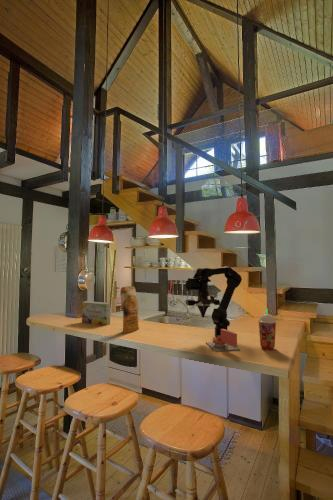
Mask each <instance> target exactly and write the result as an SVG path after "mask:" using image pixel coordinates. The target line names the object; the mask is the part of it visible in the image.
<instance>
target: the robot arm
mask: <svg viewBox="0 0 333 500" xmlns="http://www.w3.org/2000/svg"><path fill="white" fill-rule="evenodd" d="M221 274H224V277H225V278H226V285H227V286H226V288H225V291H224V292H223V293H224V294H223V296H222V298H221V301H220V300H219V299H217V298H215V296H214V295H213V294H212V295H209V294H210V293H209V283H211V282H212V280H211V279H210V278H211V277H212V276H215V275H221ZM242 280H243V279H242V276H241V274H240V273H238V272H237V271H235V270H234V269H233V268H232V267H231V266H220V267H212V268H210V267H209V268H208V267H207V268H206V267H198V268H197V269H196V272H195V273H194V275H193V277H192V278H190V277H189V278H187V281H186V282H185V286H184V287H185V289H186V290H187V291H188V292H190V291H191V292H192V291H197V292H196V294H197V298H196V299H197V300H195V299H193V298H191V299H190V298H189V299H185V305H186V306H188V307H189V306H190V307H191V306H196V307H197V308H198V311H199V313H200V317H201V318H204V317H205V315H206V312H207V310H208V309H209V308H210V307H211V305H212V304H213V305H214V306H218V307H216V308H213V311H212V313H211V320H212V323H213V325H215V327H214V335H215V336H216V337H217V336H218V335H221V329H225V330H228V327H230V324H231V322H230V321H229V319H228V311H227V310H228V308H229V305H230V302H231V300H232V298H233V296H234V293H235V291H236V288H238V287H239V286H240V284H241V283H242Z"/></svg>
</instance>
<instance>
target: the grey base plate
mask: <svg viewBox="0 0 333 500" xmlns="http://www.w3.org/2000/svg"><path fill="white" fill-rule="evenodd" d="M205 343H206V345H207V344H208V345H209V346H210V347H209V346H208V345H207V346H208V347H209V348H210V349H212V350H213V351H214V352H215V351H220V352H234V351H235V350H239V351H241V348H240V347H238V346H237V347H233V346H231V345H228V344H215V343H213V341H208V342H207V341H206V342H205ZM235 352H236V351H235Z"/></svg>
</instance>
